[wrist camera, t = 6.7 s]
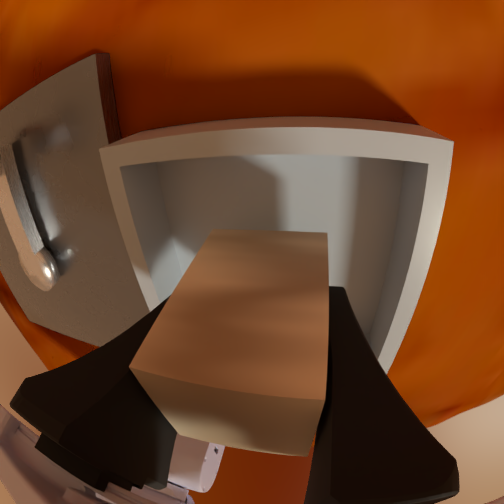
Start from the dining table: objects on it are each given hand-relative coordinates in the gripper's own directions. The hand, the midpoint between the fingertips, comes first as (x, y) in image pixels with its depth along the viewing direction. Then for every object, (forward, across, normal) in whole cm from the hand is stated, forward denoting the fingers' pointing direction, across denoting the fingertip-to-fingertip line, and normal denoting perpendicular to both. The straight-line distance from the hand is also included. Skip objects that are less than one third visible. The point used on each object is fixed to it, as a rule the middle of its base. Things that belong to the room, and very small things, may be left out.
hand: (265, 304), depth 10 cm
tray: (+4, 0, 0) cm, 4 cm away
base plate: (+4, +17, 0) cm, 17 cm away
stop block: (+1, 0, 0) cm, 1 cm away
